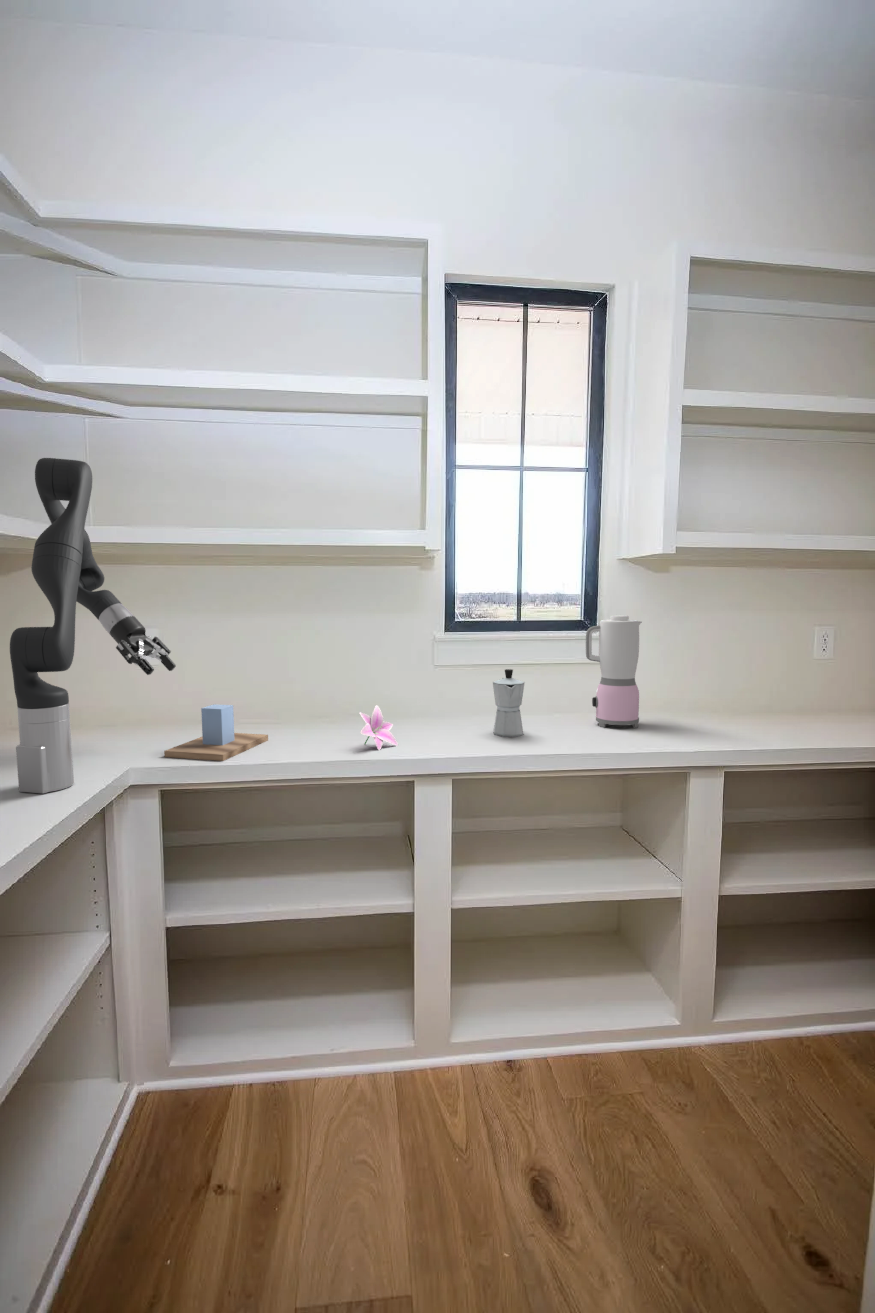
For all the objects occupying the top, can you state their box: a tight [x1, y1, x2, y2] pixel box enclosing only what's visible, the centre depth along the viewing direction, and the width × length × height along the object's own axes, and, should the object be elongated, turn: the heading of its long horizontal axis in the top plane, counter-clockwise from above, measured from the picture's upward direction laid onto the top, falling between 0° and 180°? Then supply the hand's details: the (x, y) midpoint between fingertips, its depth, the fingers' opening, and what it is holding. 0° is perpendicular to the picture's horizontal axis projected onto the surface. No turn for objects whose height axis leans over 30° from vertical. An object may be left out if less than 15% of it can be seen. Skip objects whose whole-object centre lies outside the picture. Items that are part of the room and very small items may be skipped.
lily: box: [359, 704, 399, 751], centre depth 177 cm, size 12×12×10 cm
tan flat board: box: [163, 732, 269, 762], centre depth 175 cm, size 22×16×8 cm
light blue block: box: [200, 703, 235, 745], centre depth 175 cm, size 6×6×9 cm
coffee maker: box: [492, 668, 526, 738], centre depth 191 cm, size 15×9×18 cm, turn 0°
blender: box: [585, 614, 643, 729], centre depth 200 cm, size 16×12×32 cm
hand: (162, 670), depth 175 cm, fingers open, 8 cm apart
